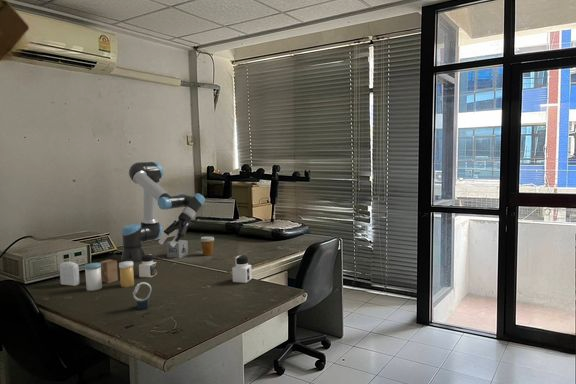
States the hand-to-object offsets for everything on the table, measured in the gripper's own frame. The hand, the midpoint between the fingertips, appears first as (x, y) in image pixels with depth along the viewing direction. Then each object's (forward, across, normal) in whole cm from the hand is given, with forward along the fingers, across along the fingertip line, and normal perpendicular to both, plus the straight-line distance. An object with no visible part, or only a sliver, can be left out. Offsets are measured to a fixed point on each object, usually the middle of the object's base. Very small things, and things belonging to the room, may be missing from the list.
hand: (165, 244), depth 244 cm
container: (0, -49, -24) cm, 55 cm away
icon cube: (-7, +32, -29) cm, 44 cm away
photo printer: (+45, +18, +22) cm, 53 cm away
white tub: (+41, 0, +18) cm, 44 cm away
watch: (+39, -47, +15) cm, 63 cm away
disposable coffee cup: (-17, +18, -40) cm, 47 cm away
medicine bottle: (+20, +1, -3) cm, 20 cm away
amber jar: (+31, -8, +8) cm, 33 cm away
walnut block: (+33, +8, +10) cm, 35 cm away
